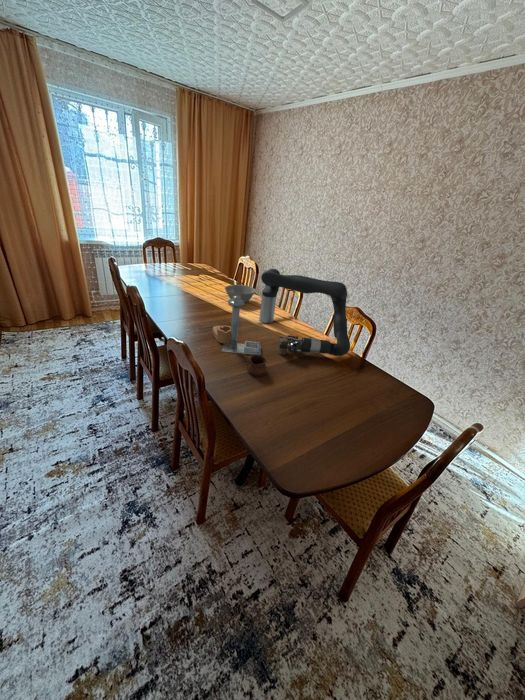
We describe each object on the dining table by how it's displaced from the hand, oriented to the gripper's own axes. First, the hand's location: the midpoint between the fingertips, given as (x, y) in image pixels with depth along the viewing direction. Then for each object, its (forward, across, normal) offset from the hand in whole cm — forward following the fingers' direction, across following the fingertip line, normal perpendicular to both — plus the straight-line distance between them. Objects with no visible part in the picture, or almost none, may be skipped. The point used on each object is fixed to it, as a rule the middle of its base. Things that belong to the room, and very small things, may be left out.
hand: (279, 342), depth 148 cm
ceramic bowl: (+26, -73, +6) cm, 78 cm away
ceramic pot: (+11, +20, +7) cm, 24 cm away
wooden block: (-2, 0, +6) cm, 7 cm away
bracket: (+31, -12, +6) cm, 34 cm away
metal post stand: (+19, 0, +6) cm, 20 cm away
